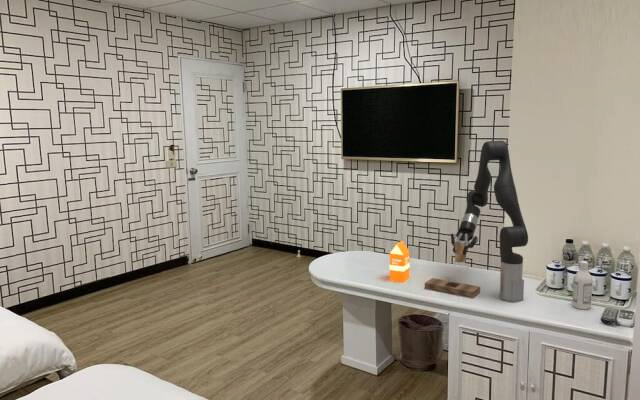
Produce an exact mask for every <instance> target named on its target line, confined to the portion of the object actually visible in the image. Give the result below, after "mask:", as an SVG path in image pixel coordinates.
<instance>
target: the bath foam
mask: <svg viewBox="0 0 640 400" xmlns="http://www.w3.org/2000/svg"><path fill="white" fill-rule="evenodd" d="M588 266H589V262H588V261H586V260H580V262H579V270H577V272H576V273H575V274H574V277H573V289H572V304H571V305H572V307H574V308H575V309H577V310H584V311H585V310H590V309H592V308H591V307H592V294H593V278H592V276H591V275H592V274H590V272H589V269H588V268H589V267H588Z"/></svg>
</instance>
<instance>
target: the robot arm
mask: <svg viewBox="0 0 640 400" xmlns="http://www.w3.org/2000/svg"><path fill="white" fill-rule="evenodd" d="M509 151H510V150H509V146H508V144H507V142H506V141H504V140H490V141H489V140H488V141H485V142H484V143H483V145H482V147H481V151H480V156H479V157H480V158H479V164H478V172H477V176H476V179H475V182H474V185H473V189H474V190H469V192H468V193H467V195H466V209H465V212H464V215H463V217H462V219H461V222H460V225H459V228H458V231H457V232H456V233H450V241H451V242H450V243H451V245H452V246H453V248H452V251H453V254H455V242H456V241H459V240H461V241H466V243H465V246H464V249H463V252H462V253H463V255H465V254H466V255H467V253H468V250H469V249H473V248H474V247H475V245H476V244H477V243H478V242H479V238H478V236H477V235H476V236H475V231H476V228H477V225H478V221H479V218H480V214H481V208H484V207H486V206H487V205H488V201H489V195H488V194H489V188H490V185H491V183H492V175H491V171H490V169H489V166H488V164H489V162H490V161H499V167H500V168H499V172H498V175H497V177H496V178H495V181H494V185H493V192H494V196H495V201H496V203H497V204H498V205H499V207H500V208H501V209H502V210H503V211H504V212H505V213H506V214H507V216H508V217H509V219H510V221H511V223H512V226H504V227H502V228H501V229H500V231H499V256H500V273H499V274H500V275H499V276H500V277H499V298H500V299H501V300H503V301H506V302H511V303H517V302H521V301H524V294H525V293H524V289H525V280H524V279H523V270H524V269H523V267H524V257H523V255H522V254H519V253H516V252H513V248H521V247H526V246H527V245H528V243H529V234H528V230H527V227H526V223H525V221H524V217H523V214H522V211H521V208H520V204H519V199H518V193H517V190H516V189H517V187H516V186H515V185H516V184H515V182H514V176H513V171H512V167H511V166H512V165H511V158H510V152H509ZM480 207H481V208H480ZM455 239H456V240H455Z"/></svg>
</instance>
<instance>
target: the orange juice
mask: <svg viewBox="0 0 640 400" xmlns="http://www.w3.org/2000/svg"><path fill="white" fill-rule="evenodd" d="M410 267H411V266H410V250H409V249H408V246H407V245H406V244H405V243H404V240H401V241H399V242H397V243H396V244H395V246H394V247H393V248H392V250H391V251H390V252H389V282H396V283H403V284H404V283H406V282H407V281H408V280H409V279H410ZM406 280H407V281H406Z"/></svg>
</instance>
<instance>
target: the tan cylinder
mask: <svg viewBox="0 0 640 400" xmlns="http://www.w3.org/2000/svg"><path fill="white" fill-rule="evenodd" d="M465 243H466V241H461V240H459V241H456V240H455V253H454V262H455V263H460V264H461V263H462V264H464V263H465V262H466V261H467V253H466V254H465V255H463V253H462V252H463V249H464V246H465Z"/></svg>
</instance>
